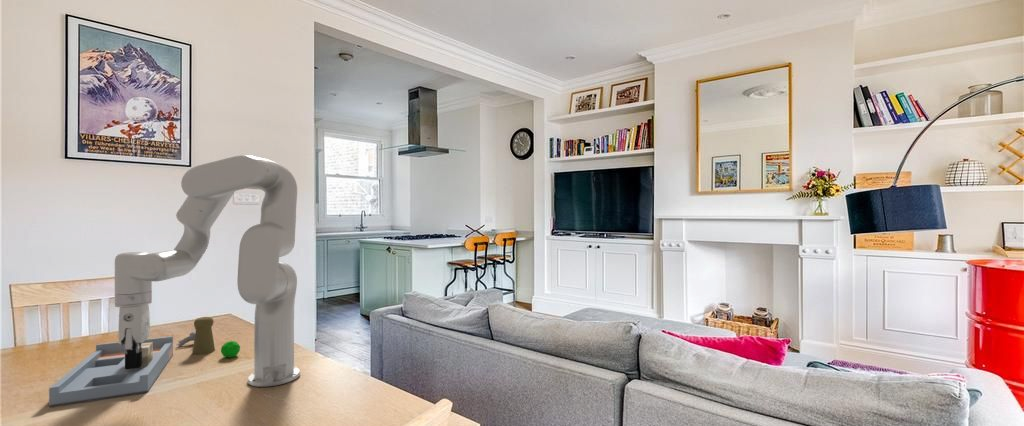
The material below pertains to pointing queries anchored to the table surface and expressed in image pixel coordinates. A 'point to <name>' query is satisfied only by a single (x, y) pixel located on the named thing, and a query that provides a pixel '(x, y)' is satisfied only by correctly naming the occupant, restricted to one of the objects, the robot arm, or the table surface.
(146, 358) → the maple block
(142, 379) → the box
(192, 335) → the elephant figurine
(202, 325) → the cork
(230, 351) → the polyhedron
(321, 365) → the table surface
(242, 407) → the table surface
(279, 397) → the table surface
